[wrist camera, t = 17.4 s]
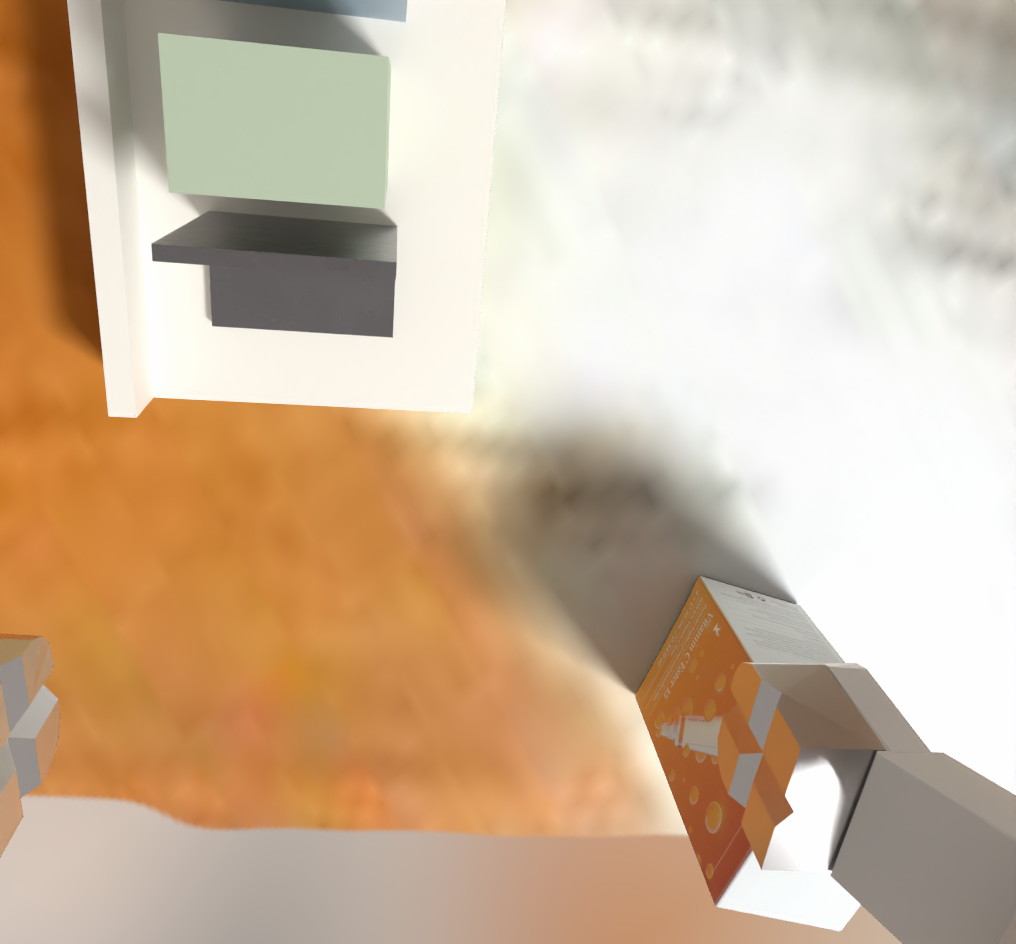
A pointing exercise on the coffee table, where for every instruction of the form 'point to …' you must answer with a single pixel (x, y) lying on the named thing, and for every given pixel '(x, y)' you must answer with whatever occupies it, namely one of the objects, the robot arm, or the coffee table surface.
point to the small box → (694, 746)
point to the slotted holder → (292, 217)
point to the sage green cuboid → (275, 121)
